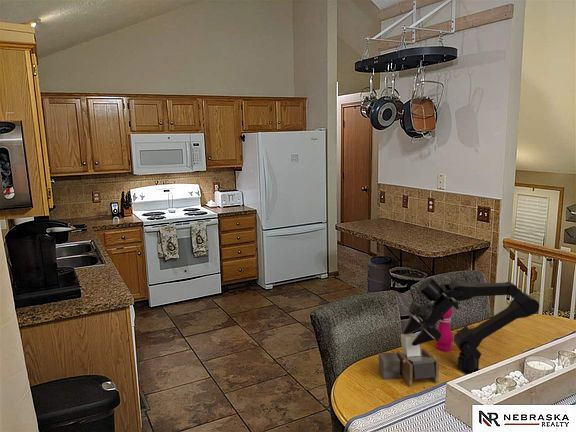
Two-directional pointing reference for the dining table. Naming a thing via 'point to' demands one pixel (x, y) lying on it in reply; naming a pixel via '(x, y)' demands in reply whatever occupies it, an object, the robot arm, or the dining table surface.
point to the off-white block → (409, 345)
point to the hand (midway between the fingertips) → (408, 339)
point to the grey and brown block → (422, 366)
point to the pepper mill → (445, 333)
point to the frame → (407, 367)
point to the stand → (389, 366)
